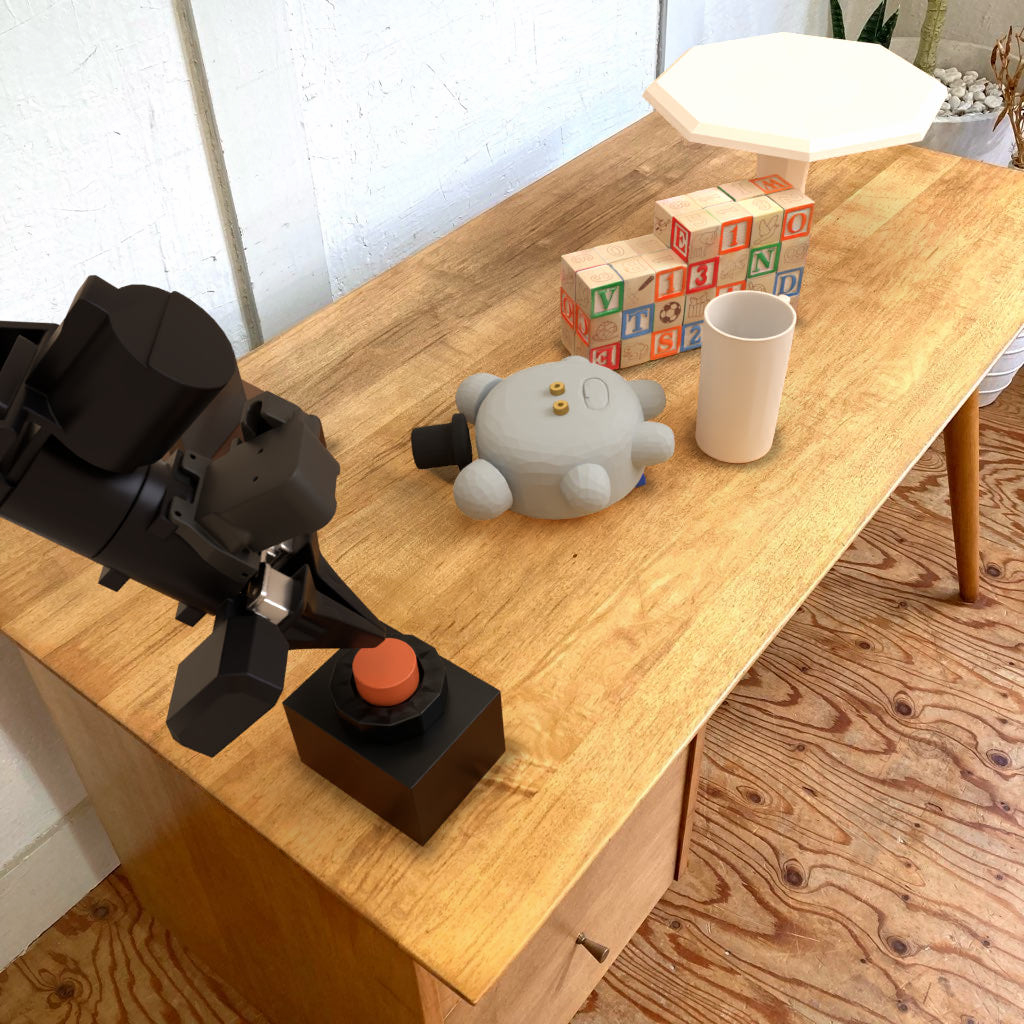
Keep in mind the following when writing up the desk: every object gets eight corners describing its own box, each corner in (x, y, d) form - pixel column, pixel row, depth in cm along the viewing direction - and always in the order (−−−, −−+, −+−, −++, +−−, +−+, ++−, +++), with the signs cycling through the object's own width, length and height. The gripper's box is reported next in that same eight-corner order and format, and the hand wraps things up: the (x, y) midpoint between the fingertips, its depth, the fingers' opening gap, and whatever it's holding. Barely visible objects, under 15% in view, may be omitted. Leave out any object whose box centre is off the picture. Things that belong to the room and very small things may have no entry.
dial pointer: (194, 479, 81) (173, 415, 76) (176, 476, 81) (154, 412, 77) (250, 409, 87) (233, 346, 83) (233, 406, 87) (215, 344, 83)
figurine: (659, 395, 90) (430, 426, 92) (653, 311, 84) (409, 345, 86) (688, 537, 77) (422, 570, 79) (684, 450, 72) (397, 487, 73)
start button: (343, 687, 60) (338, 668, 59) (385, 647, 62) (381, 627, 61) (390, 717, 58) (386, 698, 57) (432, 675, 60) (429, 655, 59)
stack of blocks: (588, 380, 93) (589, 256, 84) (559, 343, 97) (558, 222, 89) (796, 322, 98) (817, 199, 90) (761, 290, 102) (777, 170, 94)
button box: (300, 762, 65) (275, 683, 60) (386, 677, 70) (369, 597, 64) (422, 847, 61) (407, 770, 55) (506, 751, 65) (499, 671, 60)
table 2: (637, 181, 120) (643, 29, 109) (889, 181, 117) (923, 25, 106) (634, 316, 100) (641, 147, 89) (938, 320, 97) (986, 146, 86)
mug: (746, 477, 83) (765, 351, 74) (675, 444, 86) (686, 319, 78) (811, 415, 88) (835, 290, 80) (741, 385, 91) (758, 263, 83)
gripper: (171, 553, 39) (484, 708, 47) (238, 288, 53) (473, 442, 60) (34, 696, 44) (336, 814, 52) (128, 422, 58) (356, 548, 66)
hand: (381, 638), depth 57 cm, fingers closed
